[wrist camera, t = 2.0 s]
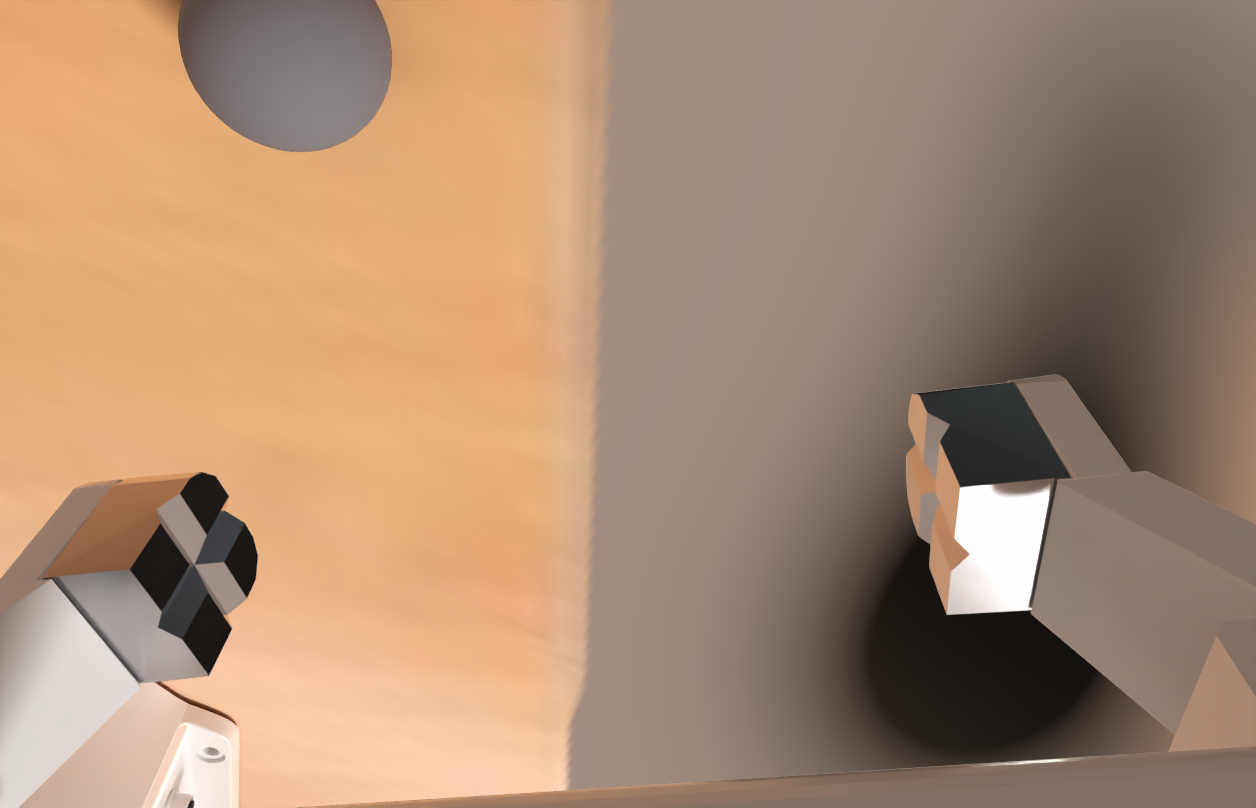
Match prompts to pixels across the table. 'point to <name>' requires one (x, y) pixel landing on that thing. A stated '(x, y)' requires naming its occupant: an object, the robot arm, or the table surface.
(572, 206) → the table surface
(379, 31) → the grey ball
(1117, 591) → the robot arm
